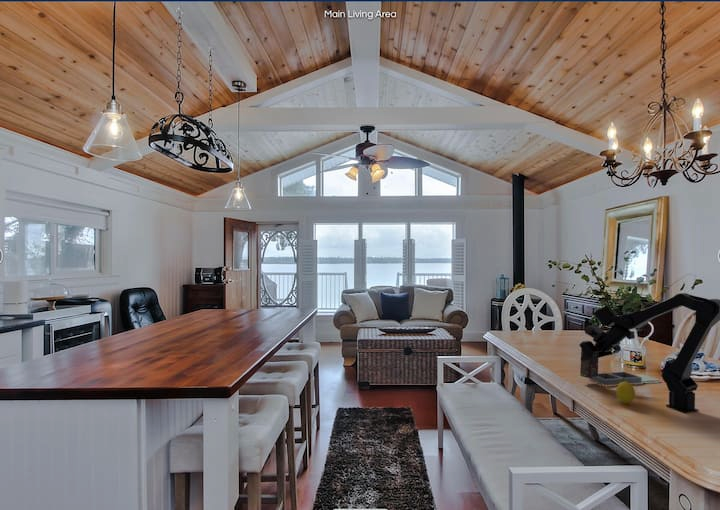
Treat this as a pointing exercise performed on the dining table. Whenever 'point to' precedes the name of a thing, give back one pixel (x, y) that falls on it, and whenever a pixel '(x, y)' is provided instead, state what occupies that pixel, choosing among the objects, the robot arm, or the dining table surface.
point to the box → (589, 367)
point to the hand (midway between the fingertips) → (586, 359)
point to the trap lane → (622, 378)
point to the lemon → (625, 392)
